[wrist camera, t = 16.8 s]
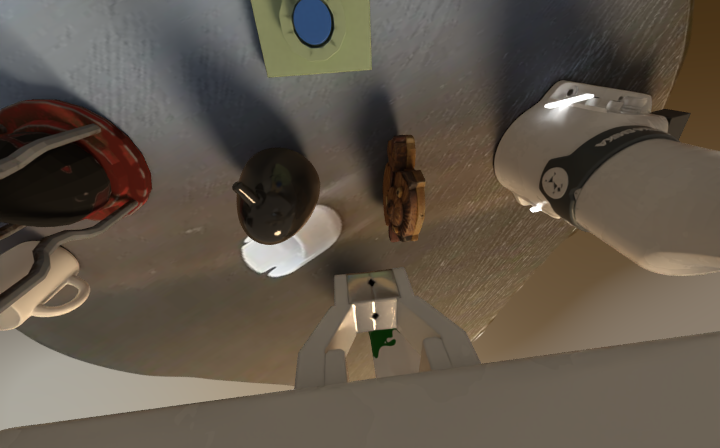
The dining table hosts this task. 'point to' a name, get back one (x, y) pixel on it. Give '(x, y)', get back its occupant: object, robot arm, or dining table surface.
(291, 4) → the button housing
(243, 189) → the pump dispenser
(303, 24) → the button
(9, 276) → the mug
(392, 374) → the milk carton
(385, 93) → the dining table surface
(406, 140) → the wooden carving
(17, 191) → the hourglass
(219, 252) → the dining table surface
